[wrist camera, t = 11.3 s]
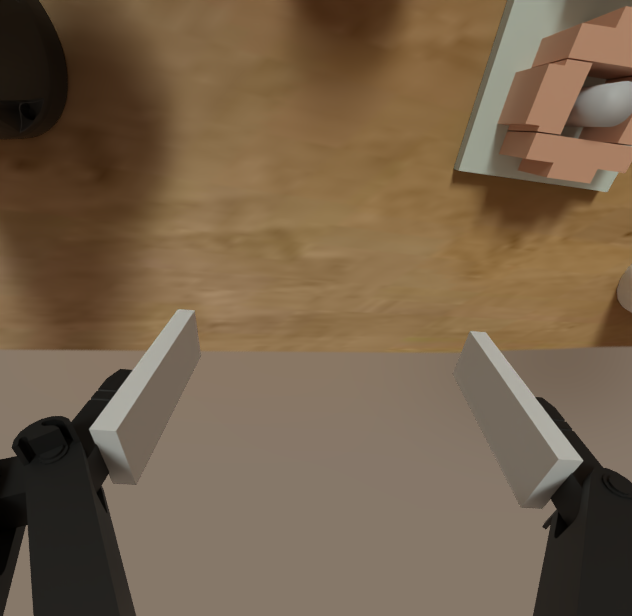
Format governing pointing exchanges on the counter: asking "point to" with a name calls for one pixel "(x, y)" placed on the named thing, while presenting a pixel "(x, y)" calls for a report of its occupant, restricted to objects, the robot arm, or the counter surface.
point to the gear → (570, 101)
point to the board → (517, 55)
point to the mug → (625, 290)
